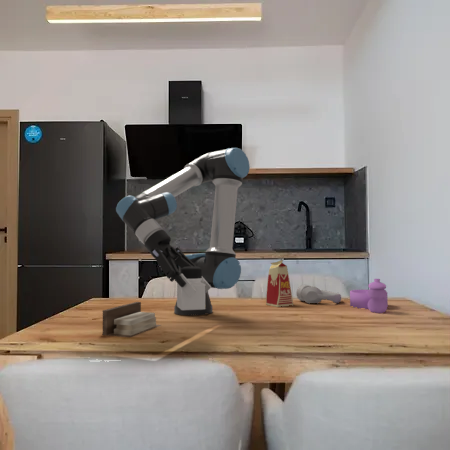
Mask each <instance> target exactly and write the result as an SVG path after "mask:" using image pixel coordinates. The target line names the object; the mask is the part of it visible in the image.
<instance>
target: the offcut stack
mask: <svg viewBox="0 0 450 450" xmlns="http://www.w3.org/2000/svg"><path fill="white" fill-rule="evenodd" d="M114 324H117V328H115V329H114V334H121V335H134V334H136V333H139V332H142V331H144V330H147V329H149V328H152V327H155V326H156V325H157V317H156V312H145V311H141V312H137V313H134V314H131V315H127V316H124V317H120V318H117V319H114Z"/></svg>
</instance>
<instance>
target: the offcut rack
mask: <svg viewBox="0 0 450 450" xmlns="http://www.w3.org/2000/svg"><path fill="white" fill-rule="evenodd" d="M137 312H142V302H141V301H134V302H130V303H127V304H123V305H118V306H114V307H111V308H106V309H104V310H102V335H103V336H113V337H121V338H132V337H135V336H138V335H140V334H143V333H146V332H148V331H150V330H153V329H155V328H158V327H160V326H162V324H156V326H155V327H152V328H149V329H147V330H144V331H142V332H139V333H136V334H134V335H121V334H114V329H115V328H117V324H114V319H117V318H120V317H124V316H127V315H131V314H134V313H137Z"/></svg>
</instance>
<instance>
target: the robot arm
mask: <svg viewBox="0 0 450 450" xmlns="http://www.w3.org/2000/svg"><path fill="white" fill-rule="evenodd" d="M250 167H251V166H250V161H249V158H248V156H247V154H246V153H245V151H244V150H242V148H238V147H231V148H230V147H228V148H226V149H220V150H215V151H210V152H207V153H205V154H203V155H200V156H199V157H197V158H195V159H194V160H192V161H191V162H189V163H186V165H184V167H183V169H181V170H180V171H177V172H176V173H173V174H172V175H170V176H169V177H167V178H166V179H163V180H162V181H160V182H158V183H157V184H154V185H153V186H152V187H150V188H148V189H146V190H144V191H143V192H141V193H138V194H137V195H135V196H134V195H126V196H124V197H123V198H122V199H121V200H119V202H117V205H116V207H115V212H116V213H117V215H118V217H119V218H120V219H121V220H122V222H123V223H124V224H125V225H126V226H127V227H128V228H129V229H130V230H131V232H132V233H133V234H134V235H135V236H136V237H137V239H138V242H141V243H142V244H143V245H144V247H145V249H146V250H148V252H149V253H150V255H151V256H152V257H153V258H154V259H155V261H156V262H157V263H158V264H157V265H159V267H160V268H161V270H162V272H163V273H164V275H165V276H166V278H167V279H169V281H170V282H171V283H172V282H174V281H175V283H177V284H178V285H179V286H180V287H181V288H182V289H183V291H184V292H185V293H186V294H187V295H188V297H189V298H190V297H192V295H193V294H194V293H195V292H196V291H197V290H196V289H195V288H194V287H193V286H192V284H191V283H190V282H189V281H188V280H187V279H186V277H185V276H184V275H183V274H181V269H182V268H183V267H188V266H195V267H200V268H201V269H202V281H201V283H203V284H205V285H206V309H202V310H181V309H180V308H178V307H177V300H176V302H175V305H174V307H173V308H174V311H173V313H174V314H176V315H181V316H205V315H208V314H212V313H213V305H212V301H211V298H210V294H209V290H210V289H211V288H212V289H218V290H223V289H225V290H228V289H231V288H233V287H234V286H235V285H236V284H237V283H238V282H239V280H240V279H241V275H242V267H241V264H240V261H239V260H238V259H237V258H236V256H237V254H236V252H235V251H234V249H233V246H234V235H235V234H234V233H235V221H236V212H237V211H236V210H237V199H238V189H239V188H240V187H241V186H242V185H243V178H245V177H247V176H248V174H249V173H250ZM209 182H212V184H214V186H215V187H214V188H215V190H214V199H213V200H214V202H213V212H212V220H211V221H212V222H211V230H210V232H211V234H210V242H209V248H207V249H206V250H205V251H204V252H201V253H199V252H198V253H190V254H184V253H183V251H181V249H180V248H179V247H174V246H172V245H170V244H171V239H172V238H171V237H170V235H169V234H168V233H167V232H166V231H165V230H164V228H163V227H162V225H161V224H160V223H158V221H157V220H160V219H162V218H164V217H169V216H170V215H172V214H173V213H175V212H176V211H177V207H178V203H177V200H176V197H177V196H179V195H181V194H182V193H184V192H186V191H187V190H189V189H191V188H192V187H198V186H200V185H202V184H204V183H209ZM177 284H176V285H177Z"/></svg>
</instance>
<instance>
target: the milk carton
mask: <svg viewBox="0 0 450 450" xmlns="http://www.w3.org/2000/svg"><path fill="white" fill-rule="evenodd" d="M270 264H271V265H270V267H269V269H268V276H267V286H266V297H265V299H266V300H265V305H267V306H271V307H276V308H279V307H281V306H282V307H289V305H292V306H294V299H293V293H292V288H291V282H290V276H289V271H288V266H287V265H286V264H285V263H283V259H281V260H279V261H276V262H270Z"/></svg>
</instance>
